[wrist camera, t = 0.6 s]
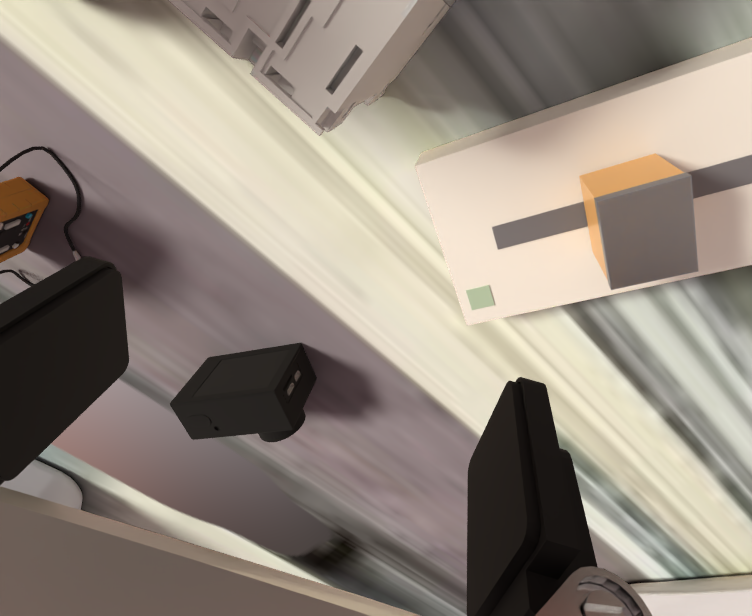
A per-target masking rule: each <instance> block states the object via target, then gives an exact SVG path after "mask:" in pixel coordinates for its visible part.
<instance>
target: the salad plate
mask: <svg viewBox="0 0 752 616" xmlns="http://www.w3.org/2000/svg"><path fill="white" fill-rule="evenodd" d="M630 586H631V587H632V588H633V589H634V590H635V591H636V592H637V594H638V595H639V596H640V597H641V598H642V599H643V601H644V603H645V604H646V606H647V607H648V609H649V610H650V612H651V614H652V616H752V574H747V575H734V576H721V577H710V578H699V579H688V580H677V581H666V582H655V583H637V584H630Z"/></svg>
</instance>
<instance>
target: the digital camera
mask: <svg viewBox="0 0 752 616" xmlns="http://www.w3.org/2000/svg"><path fill="white" fill-rule="evenodd" d="M299 350H300V351H299ZM298 352H299V353H298ZM315 381H316V375H315V373H314V371H313V369H312V366H311V364H310V362H309V359H308V357H307V355H306V353H305V350H304V348H303V346H302V343H296V344H290V345H284V346H277V347H271V348H265V349H259V350H252V351H246V352H240V353H234V354H227V355H221V356H215V357H209V358H207V360H206V361H205V362H204V363H203V364H202V366H201V367H200V368H199V369H198V370H197V372H196V373H195V374H194V375H193V376H192V377H191V379H190V380H189V381H188V382H187V383H186V385H185V386H184V387H183V388H182V389H181V391H180V392H179V393H178V394H177V395H176V397H175V398H174V399H173V400H172V402H171V403H170V406H171V407H172V409H173V410H174V412H175V413H176V415H177V417H178V418H179V420H180V421H181V423H182V425H183V426H184V428H185V429H186V431H187V432H188V434H189V436H190V437H191V439H204V438H215V437H226V436H236V435H246V434H256V433H258V434H259V436H260V438H261V439H262V440H264V441H266V442H277V441H281V440H283V439H286V438H288V437H289V436H291V435H293V434H294V433H295V432H296V431H297V430H299V428H300V427H301V426H302V425H303V423H304V421H305V412H304V410H303V407H304V405H305V402H306V400H307V398H308V396H309V394H310V392H311V390H312V387H313V385H314V383H315Z"/></svg>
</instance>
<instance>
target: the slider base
mask: <svg viewBox="0 0 752 616" xmlns="http://www.w3.org/2000/svg"><path fill="white" fill-rule="evenodd" d="M655 153H656V154H657V155H659V156H660V157H662V158H663V159H665V160H666V161H668V162H669V163H671V164H672V165H674V166H675V167H677V168H678V169H680V170H681V171H682V172H684V173H685V172H687V173H689V174H690V175H691V176H692V190H693V203H694V217H695V230H696V244H697V258H698V271H697V272H693V273H688V274H684V275H679V276H674V277H670V278H665V279H660V280H656V281H651V282H647V283H642V284H637V285H633V286H628V287H623V288H619V289H614V290H611V289H610V287H609V285H608V280H607V278H606V277H605V275H604V273H603V271H602V269H601V267H600V265H599V263H598V261H597V259H596V258H595V256H594V254H593V251H592V246H591V240H590V235H589V229H588V223H587V218H586V212H585V207H584V201H583V195H582V190H581V184H580V179H579V176H581V175H584V174H587V173H591V172H594V171H597V170H601V169H604V168H608V167H611V166H614V165H618V164H621V163H624V162H628V161H631V160H635V159H638V158H641V157H645V156H648V155H651V154H655ZM415 169H416V172H417V175H418V178H419V181H420V184H421V187H422V190H423V193H424V196H425V199H426V202H427V205H428V209H429V212H430V215H431V218H432V221H433V224H434V227H435V230H436V233H437V236H438V239H439V242H440V245H441V248H442V251H443V254H444V257H445V260H446V263H447V266H448V269H449V272H450V275H451V278H452V281H453V285H454V288H455V291H456V294H457V297H458V300H459V303H460V306H461V309H462V312H463V315H464V318H465V321H466V324H467V325H472V324H476V323H481V322H486V321H490V320H495V319H500V318H504V317H509V316H514V315H518V314H523V313H528V312H533V311H537V310H542V309H547V308H551V307H556V306H561V305H565V304H570V303H575V302H579V301H584V300H589V299H594V298H598V297H603V296H608V295H612V294H617V293H622V292H626V291H631V290H636V289H640V288H645V287H650V286H655V285H659V284H664V283H669V282H673V281H678V280H683V279H687V278H692V277H697V276H702V275H706V274H711V273H716V272H720V271H725V270H730V269H734V268H739V267H744V266H748V265H752V37H751V38H748V39H745V40H742V41H739V42H737V43H734V44H731V45H728V46H725V47H722V48H719V49H716V50H714V51H711V52H708V53H705V54H702V55H699V56H696V57H694V58H691V59H688V60H685V61H682V62H679V63H676V64H673V65H671V66H668V67H665V68H662V69H659V70H656V71H653V72H650V73H648V74H645V75H642V76H639V77H636V78H633V79H630V80H628V81H625V82H622V83H619V84H616V85H613V86H610V87H607V88H605V89H602V90H599V91H596V92H593V93H590V94H587V95H584V96H582V97H579V98H576V99H573V100H570V101H567V102H564V103H561V104H559V105H556V106H553V107H550V108H547V109H544V110H541V111H539V112H536V113H533V114H530V115H527V116H524V117H521V118H518V119H516V120H513V121H510V122H507V123H504V124H501V125H498V126H495V127H493V128H490V129H487V130H484V131H481V132H478V133H475V134H473V135H470V136H467V137H464V138H461V139H458V140H455V141H452V142H450V143H447V144H444V145H441V146H438V147H435V148H432V149H429V150H427V151H424V152H421V154H420V156H419V158H418V160H417V162H416V164H415Z"/></svg>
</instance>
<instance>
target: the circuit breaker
mask: <svg viewBox="0 0 752 616" xmlns="http://www.w3.org/2000/svg"><path fill="white" fill-rule="evenodd" d="M169 1H170V2H171V3H172V4H173V5H174V6H175V7H176V8H177V9H179V10H180V11H181V12H182V13H183V14H184V15H185V16H186V17H187V18H189V19H190V20H191V21H192V22H193V23H194V24H195V25H196V26H197V27H199V28H200V29H201V30H202V31H203V32H204V33H205V34H206V35H208V36H209V37H210V38H211V39H212V40H213V41H214V42H215V43H216V44H218V45H219V46H220V47H221V48H222V49H223V50H224V51H225V52H226V53H228V54H229V55H230V56H231V57H232V58H238V59H243V60H249V61H250V62H251V63H252V64H253V65H254V68H253V70H252V71H251V73H250V74H251V75H252V76H253V77H254V78H255V79H257V80H258V81H259V82H260V83H261V84H262V85H263V86H264V87H265V88H267V89H268V90H269V91H270V92H271V93H272V94H273V95H274V96H275V97H277V98H278V99H279V100H280V101H281V102H282V103H283V104H284V105H285V106H287V107H288V108H289V109H290V110H291V111H292V112H293V113H294V114H296V115H297V116H298V117H299V118H300V119H301V120H302V121H303V122H304V123H306V124H307V125H308V126H309V127H310V128H311V129H312V130H313V131H314V132H316V133H317V134H318V135H319V136H320V135H321V134H322V133H323V132H324V130H325V131H326V132H329V131H331V130H332V129H334V128H335V127H337V126H338V125H340V124H341V123H342V122H343V121H344V119H345V118H346V117H347V115H348V114H349V113H350V111H351V110H352V109H353V108H354V107H355V106H357V105H358V104H360V103H362V102H364V103H365V104H366V105H367V106H368V105H370V104H371V103H373V102H374V101H376V100H377V99H378V98H379V97H382V95H383V94H384V93H385V91H384V90H385V89H386V87H387V86H388V85H389V84H390V82H392V81H393V80H395V78H396V77H397V76H398V75H399V73H400V72H401V71H402V69H403V68H404V67H405V66H406V64H407V63H408V62H409V60H410V59H411V58H412V56H413V55H414V54H415V53H416V51H417V50H418V49H419V47H420V46H421V45H422V44H423V42H424V41H425V40H426V38H427V37H428V36H429V34H430V33H431V32H432V31H433V29H434V28H435V27H436V25H437V24H438V23H439V22H440V20H441V19H442V18H443V16H444V15H445V14H446V13H447V11H448V10H449V9H450V7H451V6H452V5H453V3H454V2H455V1H456V0H169ZM447 4H448V5H449V6H450V7H449V6H448V5H447Z"/></svg>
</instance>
